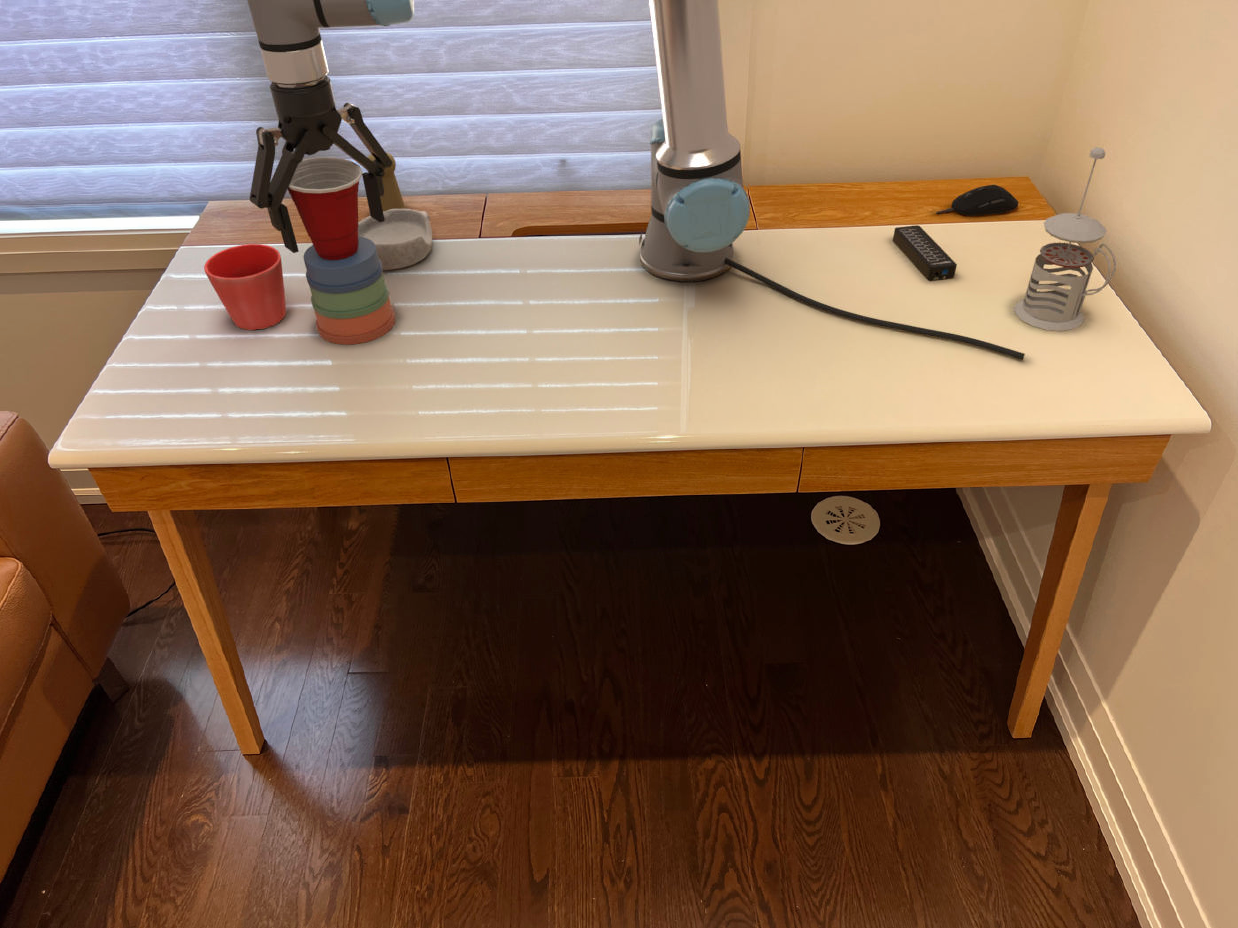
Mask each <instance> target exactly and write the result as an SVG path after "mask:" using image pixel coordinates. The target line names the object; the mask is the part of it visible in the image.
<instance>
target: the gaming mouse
mask: <svg viewBox="0 0 1238 928" xmlns="http://www.w3.org/2000/svg"><path fill="white" fill-rule="evenodd" d="M1018 206H1019V200H1018V199H1017V198H1016V197H1015V196H1014V195H1013V194H1012V193H1011V192H1009V191H1008V190H1007V189H1006V188H1004V187H1003V186H999V185H997V184H989V185H988V184H987V185H983V186H978V187H975V188H973V189H970V190H968V191H966V192H964V193H962V194H959V195H958V196H957V197H955V199H953V200H952V202H951V206H950V207H949V208H946V209H943V210H938V211H936V214H937V215H939V214H945V213H951V212H955V213H958V214H960V215H962V216H965V217H978V216H979V217H980V216H988V215H989V216H990V215H1000V214H1007V213H1009V212H1012V211H1015V210H1016V209H1017V208H1018Z"/></svg>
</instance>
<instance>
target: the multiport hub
mask: <svg viewBox="0 0 1238 928" xmlns="http://www.w3.org/2000/svg"><path fill="white" fill-rule="evenodd" d="M892 237H893V238H892V242H893V243H894V244H895V245H896V247H897V248H898V249H899V250H900V251H901V252H902V253H903V254H904V255H905V257H906V258H907V259H908V260H909V261H910V262H911V263H912V264H913V265H914V267H915V268H916V269H917V270H918V271H919V272H920V273H921V274H922V275H923V277H924V278H925V279H926V280H927V281H928V282H934V281H942V280H951V279H955V276H956V270H957V267H958V264H957V263H956V262H955V261H954V260H953V259H952V257H950V255H949V254H947V253H946V251H944V249H942V247H941V246H940V245H939V244H938V243H937V242H936V241H935V240H934V239H933V238H932V237H931V236H930V235H929V234H928V233H927V232H926V230H924V228H922V227H921V226H920V225H917V224H916V225H907V226H898V227H895V228H894V231H893V236H892Z"/></svg>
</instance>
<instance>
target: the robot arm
mask: <svg viewBox="0 0 1238 928" xmlns="http://www.w3.org/2000/svg"><path fill="white" fill-rule="evenodd" d="M247 4H248V8H249V11H250V14H251V18H252V22H253V25H254V29H255V33H256V37H257V40H258V45H259V50H260V52H261V53H260V54H261V57H262V62H263V66H264V69H265V73H266V78H267V79H268V81H270V82H271V83H270V86H269V90H270V93H271V97H272V101H273V104H274V109H275V113H276V116H277V119H278V124H277V127H271V128H270V127H269V128H265V127H262V126H259V127H257V128H256V130H255V131H256V132H255V133H256V140H257V150H256V151H257V152H256V157H255V163H254V169H253V175H252V180H251V187H250V192H249V202H251V203H252V204H253V205H254V206H256V207H257V208H259V209H260V210H263V209H267V212H268V216H269V219H270V223H271V226H272V227H273V228H274V229H275V230H277V231H278V232H280V234H281V238H282V241H283V245H284V248H286V249H287V250H289V251H290V252H291V253H293V254H296V253H298V252H300V251H299V247H298V243H297V240H296V235H295V232H294V227H293V225H292V221H291V217H290V214H289V209H288V206H287V205H285V204H284V203H283V200H284V198H285V196H286V194H287V191H288V187H289V184H290V182H291V180H292V177H293V175H294V173H295V171H296V168H297V166H298V164H299V163H300V162H301V161H302V160H304V158H305V155H307V156H313V155H315V154H317V153H318V152H326V151H329V150H331V147H332V146H333V145H334V146H335V147H337V148H338V149H339V150H341V151H342V152H343V153H345V154H346V155H347V156H348V157H350V159H352V160H353V161H354V162H355V163H356V164H358V165H359V166H360V167H361V166H362V168H364V169H365V170H366V171H365V172H362V176H361V178H362V181H363V186H364V192H365V196H366V201H367V206H368V210H369V216H370V215H371V217H372V218H374V219H375V220H377V221H378V222H383V221H385V219H384V214H383V209H382V204H381V199H380V197H381V196H383V195H384V187H383V182H382V177H383V176H384V174H385V171H384V169H385V168H389V167H391V166H392V160H391V159H390V158H389V156H388V155H387V154H386V153H387V152H386V151H385V149H384V148H383V147H382V145H381V143H380V142H379V141H378V140H377V138H376V137H375V135H374V134H373V133H372V132H371V130H370V128H369V127H368V126H367V124H366V123H365V121H364V118H363V115H362V111H361V109H360V108H359V107H358V106H356V105H354V104H352V103H350V102H345V103H344V104H343V106H342V108H339V109H337V107H336V99H335V95H334V91H333V86H332V81H331V78H330V77H329V76H328V74H329V67H328V62H327V58H326V54H325V49H324V45H323V40H322V34H321V31H320V29H322V28H324V29H327V28H346V27H347V28H348V27H350V28H351V27H371V26H374V27H376V26H382V27H389V26H391V25H398V24H399V25H400V24H407V23H409V22H411V21H412V20H413V18H414V16H415V0H247ZM648 6H649V14H650V23H651V31H652V40H653V49H654V57H655V64H656V75H657V82H658V92H659V98H660V99H659V100H660V107H661V117H662V118H661V119H658V120H657V121H656V122H654V123H653V125H652V126H651V131H650V140H649V145H650V211H651V212H650V218H649V221H648V224H647V227H646V231H645V234H644V239H643V231H641V232H640V234H639V239H638V241H639V242H638V243H639V247H640V251H639V254H640V255H639V258H640V259H639V260H640V264H641V266H642V267H643V268H644V269H645V271H647V272H648V273H649V274H651V275H654V276H655V277H658V278H662V279H664V280H669V281H674V282H701V281H705V280H710V279H713V278H715V277H716V278H717V277H719V276H721V275H723V274H725V273H726V272H727V271H729V270H730V268H733V269H735V270H737V271H739V272H741V273H743V274H746V275H747V276H749V277H750V278H751V277H752V278H753V279H755V280H757V281H759V282H761V283H762V284H765V285H767V286H768V287H771V288H773V289H775V290H776V291H779V292H781V293H782V294H784V295H787V296H788V297H791V298H793V299H795V300H797V301H799V302H802V303H804V304H806V305H808V306H812V307H814V308H815V309H818V310H819V309H820V310H822V311H824V312H828V313H830V314H833V315H837V316H839V317H842V318H846V319H849V320H853V321H857V322H860V323H863V324H868V325H872V326H873V325H874V326H877V327H882V328H888V329H893V330H898V331H903V332H907V333H912V334H918V335H921V336H922V335H923V336H929V337H934V338H939V339H945V340H949V341H955V342H959V343H963V344H965V345H972V346H974V347H978V348H982V349H985V350H989V351H992V352H995V353H999V354H1002V355H1005V356H1008V357H1011V358H1014V359H1018V360H1021V361H1023V360H1024V358H1025V355H1026V353H1024V352H1021V351H1017V350H1014V349H1011V348H1007V347H1004V346H1001V345H998V344H995V343H991V342H987V341H985V340H980V339H977V338H973V337H968V336H965V335H960V334H956V333H950V332H945V331H941V330H936V329H930V328H926V327H925V328H924V327H919V326H914V325H910V324H905V323H899V322H894V321H888V320H884V319H879V318H874V317H870V316H865V315H863V314H862V315H861V314H857V313H855V312H851V311H847V310H843V309H840V308H837V307H834V306H832V305H828V304H826V303H823V302H820V301H817V300H815V299H812V298H810V297H807V296H805V295H802V294H800V293H798V292H796V291H794V290H792V289H790V288H788V287H786V286H784V285H782V284H780V283H778V282H776V281H774V280H772V279H770V278H768V277H766V276H764V275H762V274H761V273H758V272H756V271H754V270H752V269H750V268H748V267H746V266H744V265H742V264H740V263H739V262H736V261H735V260H734V255H735V254H734V245H733V243H734V242H735V241H736V240H737V239H738V238H739V237H740V236H741V235H742V234H743V233H744V231H745V229H746V228H747V225H748V223H749V220H750V215H751V214H750V213H751V207H750V198H749V197H748V193H747V191H746V190H745V188H744V180H743V179H744V178H743V165H742V153H741V142H740V141H739V139H738V138H736V136H734V135H732V134H731V133H730V132H729V126H728V116H727V115H728V114H727V101H726V87H725V75H724V73H725V72H724V61H723V46H722V34H721V19H720V6H719V0H648ZM342 120H343V122H344V123H346V124H348V125H349V127H350V128H351V129H352V131H353V132H354V133H355V134H356V136H357V137H358V139H359V140H360V141H361V142H362V143H363V145H364V146H365V148H366V149H367V151H368V152H369V153H370V155H371V154H372V156H373V157H374V158H375V160H374V161H371V160H370V159H369V158H368V156H366V155H365V154H364V153H363V152H362V151H360V150H359V149H358V148H356V147H355V146H354V145H353V144H351V143H350V142H349V140H347V139H345V138H344V137H343V136H342V135H341V134H340V133H338V132H339V130H340V127H341V124H342ZM280 138H281V139H283V140H285V143H284V145H283V147H282V150H281V157H280V159H279V161H278V164H277V166H276V168H275V170H274V163H275V158H276V147H277V146H279V140H280ZM273 170H274V173H273ZM367 170H368V171H367Z"/></svg>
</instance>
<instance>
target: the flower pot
mask: <svg viewBox="0 0 1238 928" xmlns="http://www.w3.org/2000/svg"><path fill="white" fill-rule="evenodd" d="M282 263H283V262H282V255H281V253H280V252H279V251H278V249H276V248H275V247H273V246H270V245H268V244H262V243H247V244H239V245H236V246H231V247H228V248H225V249H223V250H220V251H218V252H216V253H215V254H213V255H212V256H211V257H209V258H208V259H207V260H206V261H205V264H204V266H203V271H204V273H205V275H206V277H207V279H208V281H209V283H211V286H212V288H213V289H214V291H215V293H216V295H217V296H218V299H219V300H220V302H221V303H222V305H223V307H224V308H225V311H226V312H227V313H228V315H229V317H230V318H231V321H232V322H233V323H234V325H235V326H236V327H238V328H240V329H241V330H247V331H254V330H264V329H267V328H270V327H273V326H275V325H276V324H279V323H280V322H281V321H282V320H283V319H284V318H285V317H286V314H287V309H286V307H287V306H286V293H285V283H284V272H283V264H282Z"/></svg>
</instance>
